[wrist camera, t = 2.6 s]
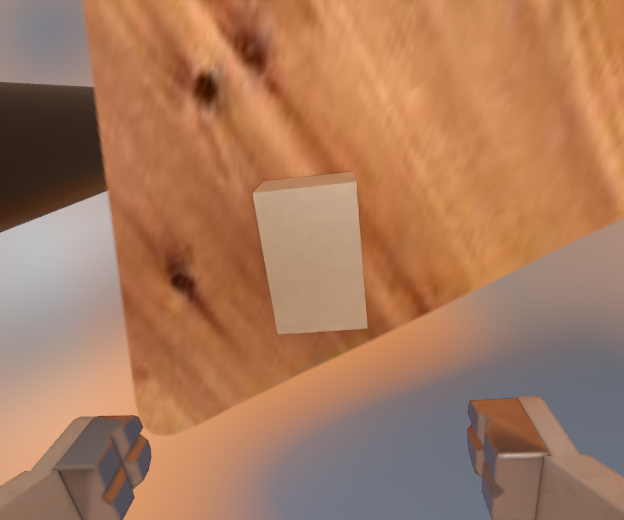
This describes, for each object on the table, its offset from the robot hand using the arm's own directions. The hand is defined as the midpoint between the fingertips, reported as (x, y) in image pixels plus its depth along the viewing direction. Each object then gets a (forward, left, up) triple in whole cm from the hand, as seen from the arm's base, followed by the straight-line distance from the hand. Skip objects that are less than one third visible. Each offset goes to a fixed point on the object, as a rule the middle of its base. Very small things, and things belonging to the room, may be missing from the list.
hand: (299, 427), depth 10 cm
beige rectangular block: (0, 0, -14) cm, 14 cm away
